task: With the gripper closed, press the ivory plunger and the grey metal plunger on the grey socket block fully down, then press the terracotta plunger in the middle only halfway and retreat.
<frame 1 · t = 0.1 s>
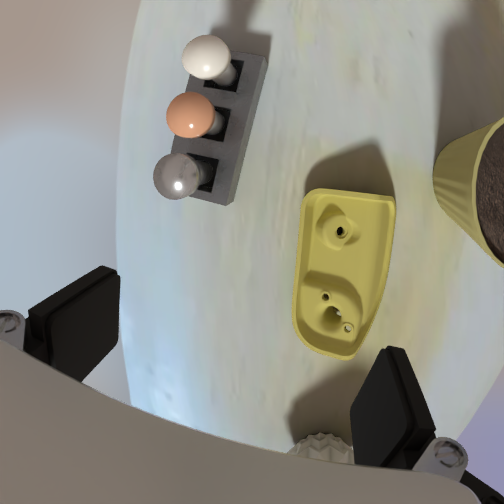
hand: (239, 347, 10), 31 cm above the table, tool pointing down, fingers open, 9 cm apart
terracotta plunger: (202, 119, 31), point 7 cm above the table, slide at 0.0 cm
vase: (320, 445, 51), on the table
plastic component: (338, 262, 41), on the table
potted cactus: (467, 180, 35), on the table
grey plunger: (189, 174, 33), point 7 cm above the table, slide at 0.0 cm
grey socket block: (219, 125, 38), on the table
ivory plunger: (216, 66, 30), point 7 cm above the table, slide at 0.0 cm
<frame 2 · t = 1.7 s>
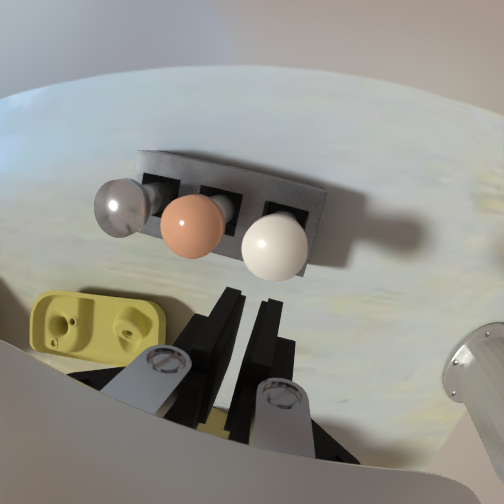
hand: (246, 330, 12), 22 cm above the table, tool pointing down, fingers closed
terracotta plunger: (207, 217, 26), point 7 cm above the table, slide at 0.0 cm
plastic component: (109, 322, 41), on the table
potted cactus: (206, 428, 43), on the table
grey plunger: (142, 201, 27), point 7 cm above the table, slide at 0.0 cm
grey socket block: (227, 204, 33), on the table
ivory plunger: (279, 235, 26), point 7 cm above the table, slide at 0.0 cm
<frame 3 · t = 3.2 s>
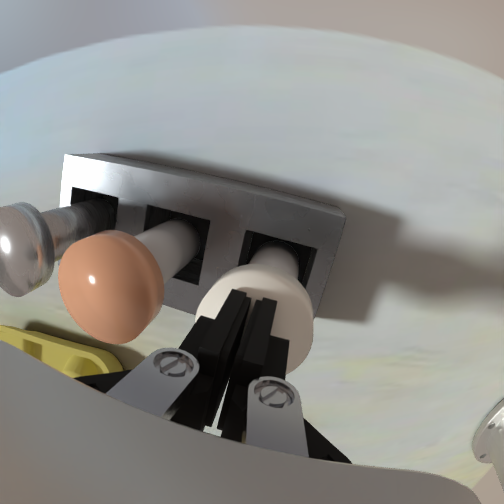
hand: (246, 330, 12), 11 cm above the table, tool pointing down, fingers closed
terracotta plunger: (146, 261, 15), point 7 cm above the table, slide at 0.0 cm
plastic component: (62, 364, 30), on the table
grey plunger: (59, 232, 16), point 7 cm above the table, slide at 0.0 cm
grey socket block: (194, 230, 22), on the table
ivory plunger: (267, 289, 16), point 6 cm above the table, slide at -0.8 cm, touching gripper
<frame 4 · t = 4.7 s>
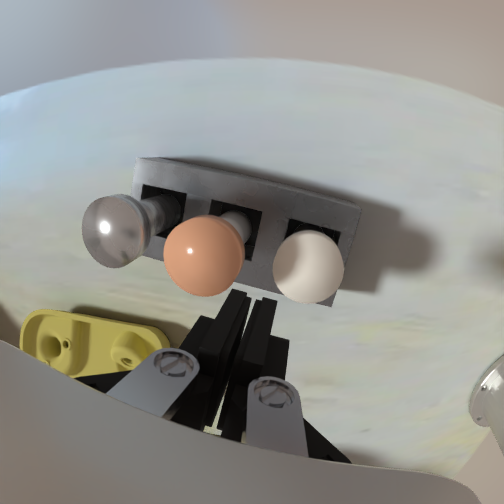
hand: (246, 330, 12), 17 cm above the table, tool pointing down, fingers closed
terracotta plunger: (220, 240, 22), point 7 cm above the table, slide at 0.0 cm
plastic component: (107, 344, 36), on the table
grey plunger: (141, 220, 22), point 7 cm above the table, slide at 0.0 cm
grey socket block: (241, 220, 29), on the table
ivory plunger: (308, 251, 24), point 4 cm above the table, slide at -2.8 cm
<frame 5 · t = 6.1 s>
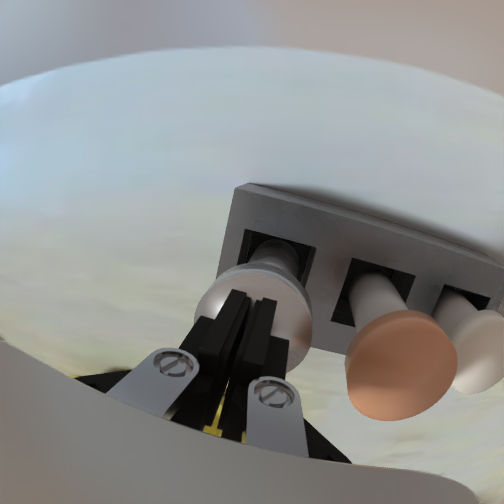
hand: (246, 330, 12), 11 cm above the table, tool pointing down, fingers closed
terracotta plunger: (384, 326, 14), point 7 cm above the table, slide at 0.0 cm
grey plunger: (266, 288, 16), point 6 cm above the table, slide at -0.8 cm, touching gripper
grey socket block: (363, 275, 21), on the table
ivory plunger: (458, 323, 16), point 4 cm above the table, slide at -2.8 cm
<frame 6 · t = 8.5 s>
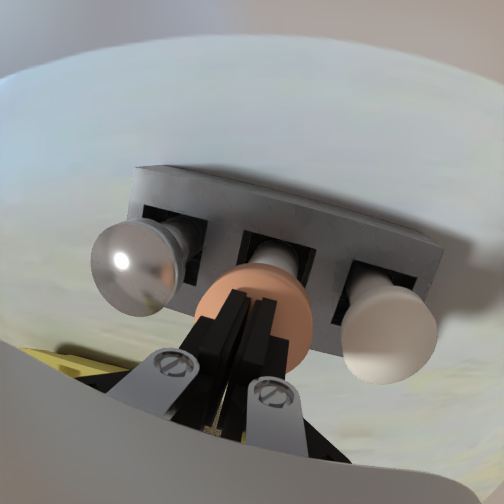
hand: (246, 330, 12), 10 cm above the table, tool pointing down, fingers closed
terracotta plunger: (266, 288, 16), point 6 cm above the table, slide at -1.1 cm, touching gripper
plastic component: (100, 387, 29), on the table
grey plunger: (166, 247, 18), point 4 cm above the table, slide at -2.8 cm
grey socket block: (278, 253, 21), on the table
ivory plunger: (375, 304, 17), point 4 cm above the table, slide at -2.8 cm
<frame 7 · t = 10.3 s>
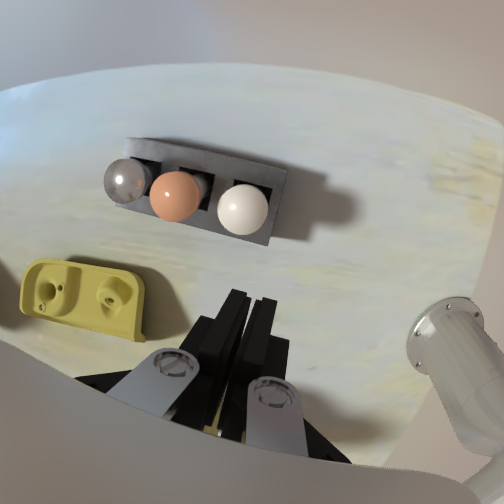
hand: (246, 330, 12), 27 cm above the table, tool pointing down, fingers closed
terracotta plunger: (187, 191, 31), point 6 cm above the table, slide at -1.3 cm
plastic component: (93, 290, 44), on the table
grey plunger: (141, 177, 33), point 4 cm above the table, slide at -2.8 cm
grey socket block: (203, 184, 37), on the table
ivory plunger: (248, 203, 33), point 4 cm above the table, slide at -2.8 cm
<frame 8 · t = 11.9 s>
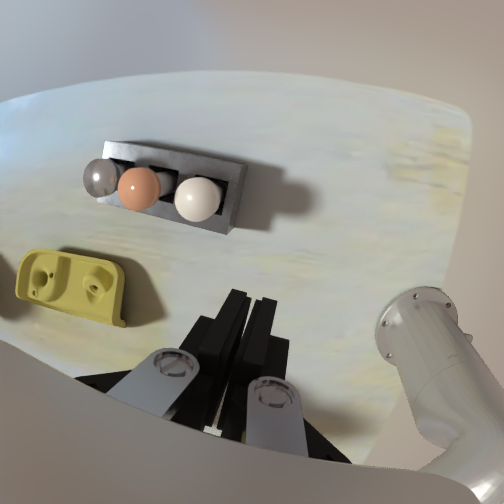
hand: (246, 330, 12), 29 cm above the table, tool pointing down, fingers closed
terracotta plunger: (153, 185, 35), point 6 cm above the table, slide at -1.3 cm
plastic component: (81, 279, 48), on the table
grey plunger: (117, 175, 37), point 4 cm above the table, slide at -2.8 cm
grey socket block: (173, 181, 40), on the table
ivory plunger: (207, 195, 36), point 4 cm above the table, slide at -2.8 cm
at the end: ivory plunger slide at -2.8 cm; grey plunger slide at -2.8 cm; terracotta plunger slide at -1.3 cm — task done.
